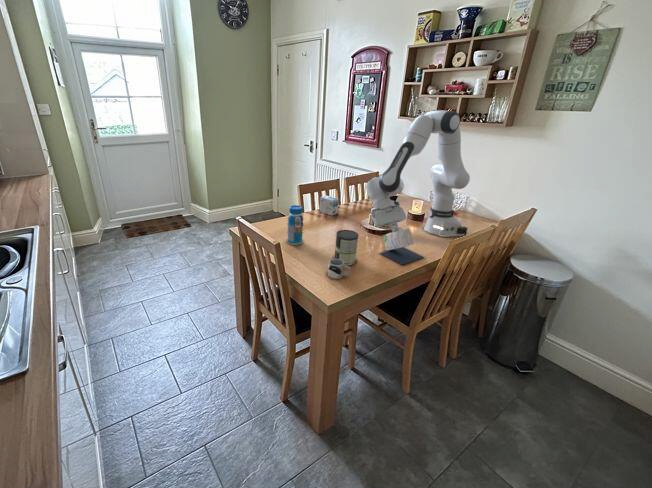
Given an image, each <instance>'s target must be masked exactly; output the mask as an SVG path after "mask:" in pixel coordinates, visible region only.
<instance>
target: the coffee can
mask: <svg viewBox="0 0 652 488" xmlns="http://www.w3.org/2000/svg"><path fill="white" fill-rule="evenodd" d="M335 233H336V237H335V249H334V258H333V259H341V260H343V261H344V264H345V265H347V266H351V265H354V264H355V263H356V258H357V248H358V242H359V241H358V240H359V233H358V232H356V231H355V230H352V229H340V230H337V231H336V232H335Z"/></svg>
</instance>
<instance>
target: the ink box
mask: <svg viewBox="0 0 652 488" xmlns="http://www.w3.org/2000/svg"><path fill="white" fill-rule="evenodd" d="M410 229H411V228H406V229H405V228H404V229H399V230H398V231H395V232H392V231H391V232H388V233H386V234H383V235H382V239H383V243H384V247H385V251H389V250H393V249H398V248H402V247H404V248H406V247H409V246H411V245H414V244H415V243H414V242H415V241H414V238H413V235H412V232H411V230H410Z"/></svg>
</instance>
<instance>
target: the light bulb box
mask: <svg viewBox="0 0 652 488" xmlns="http://www.w3.org/2000/svg"><path fill="white" fill-rule="evenodd" d="M319 200H320V201H319V213H322V214H324V215H325V214H326V215H328V216H330V217H331V216H336V215H337V214H338V212H339V201H340V199H339V198H338V197H335V196H334V197H333V196H330V195H323V196H320V199H319Z"/></svg>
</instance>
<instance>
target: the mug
mask: <svg viewBox="0 0 652 488" xmlns="http://www.w3.org/2000/svg"><path fill="white" fill-rule="evenodd" d="M344 269H348V272H344ZM351 274H352V267H351V266H350V265H345V264H344V261H343V260H341V259H334V258H331V259H329V260H328V269H327V276H328V277H329V278H330V279H333V280H340V279H342V278H344V277H350V276H351Z"/></svg>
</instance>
